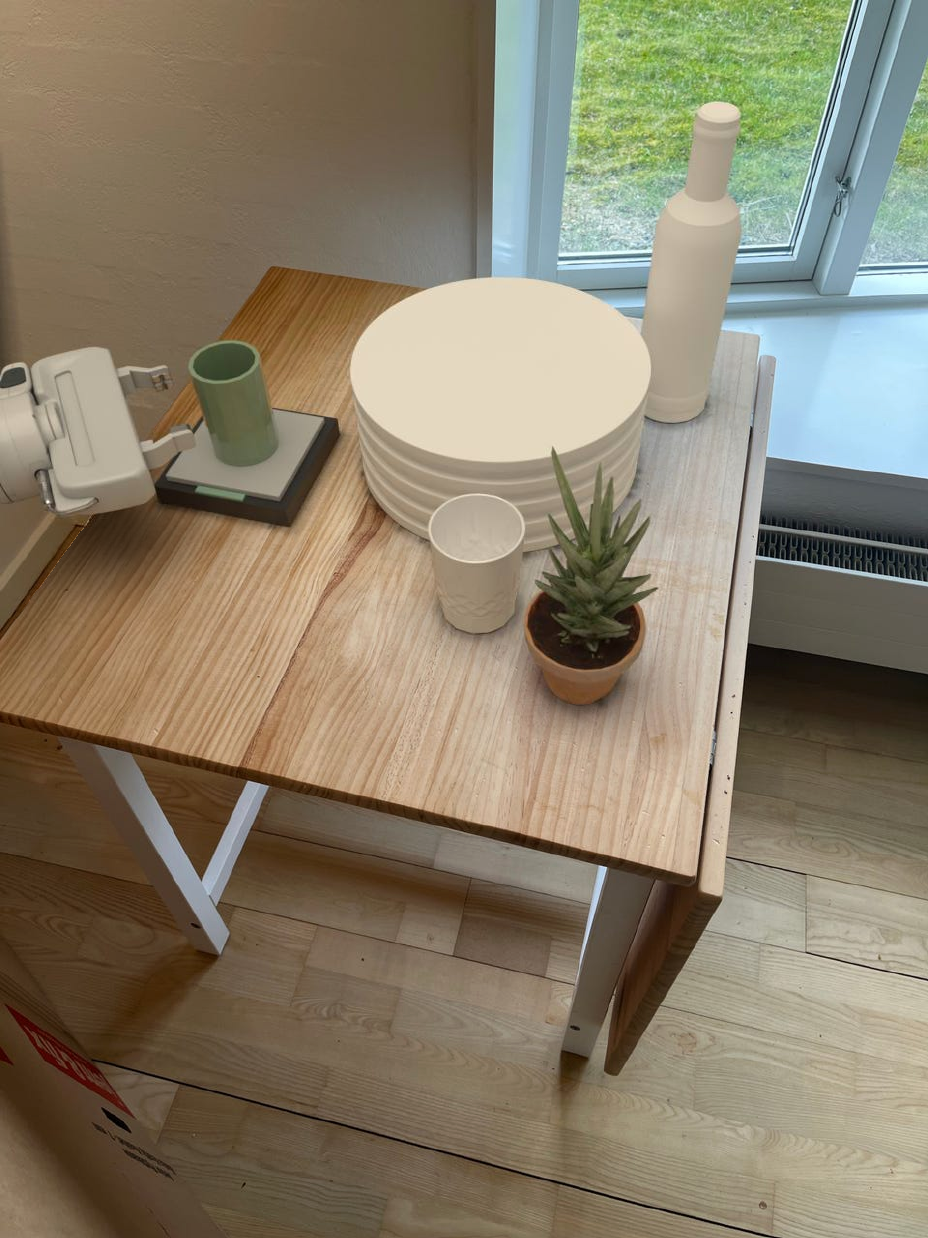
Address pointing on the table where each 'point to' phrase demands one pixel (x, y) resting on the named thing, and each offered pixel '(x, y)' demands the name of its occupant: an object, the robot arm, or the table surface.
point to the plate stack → (499, 400)
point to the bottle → (692, 271)
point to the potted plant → (588, 601)
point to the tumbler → (234, 402)
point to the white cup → (477, 560)
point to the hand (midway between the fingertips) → (181, 404)
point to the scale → (252, 472)
